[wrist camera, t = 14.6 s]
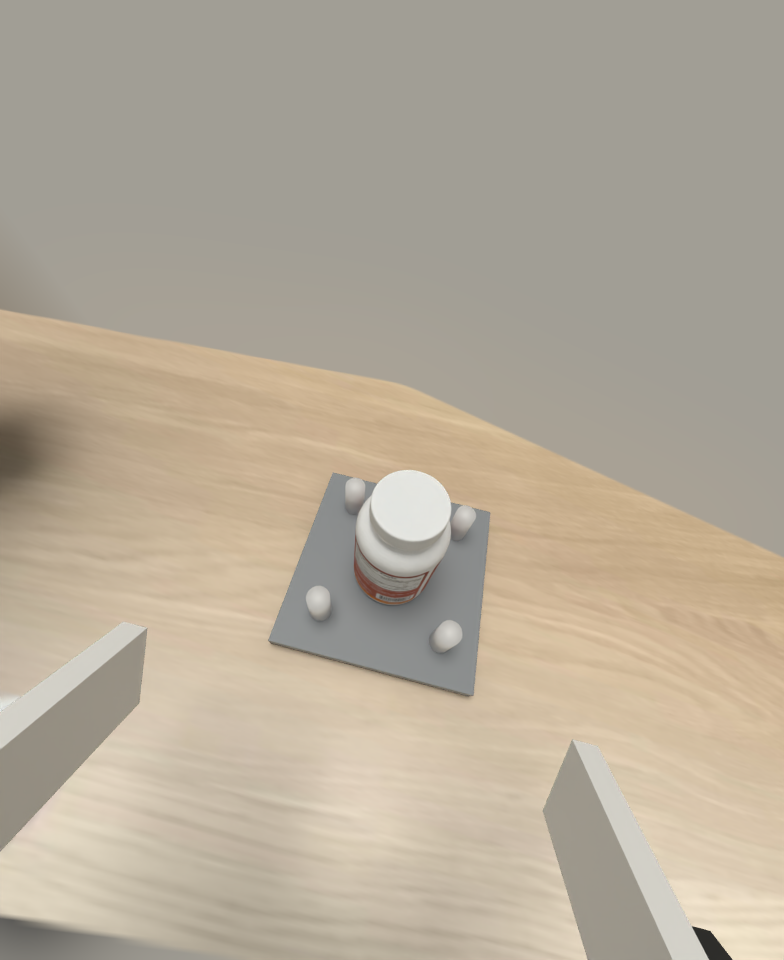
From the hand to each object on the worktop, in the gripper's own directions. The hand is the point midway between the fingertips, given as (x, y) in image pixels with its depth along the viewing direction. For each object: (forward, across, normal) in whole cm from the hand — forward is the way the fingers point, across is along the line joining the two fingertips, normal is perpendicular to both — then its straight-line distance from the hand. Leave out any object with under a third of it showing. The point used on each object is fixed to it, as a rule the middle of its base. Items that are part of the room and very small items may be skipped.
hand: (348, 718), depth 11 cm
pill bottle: (+19, +1, -4) cm, 19 cm away
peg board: (+20, +1, -5) cm, 20 cm away
